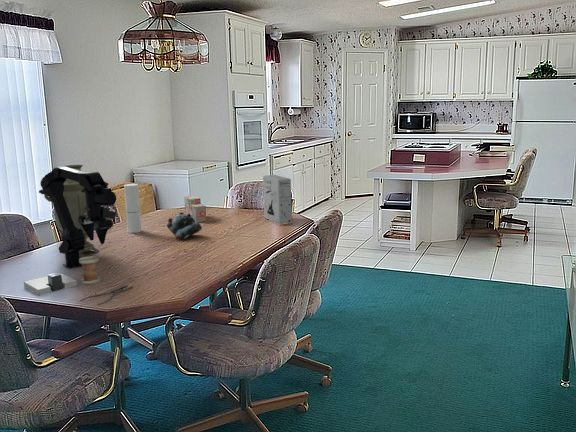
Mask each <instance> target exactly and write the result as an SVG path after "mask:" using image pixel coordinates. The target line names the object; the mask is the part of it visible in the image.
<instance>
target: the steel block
mask: <svg viewBox="0 0 576 432" xmlns="http://www.w3.org/2000/svg"><path fill="white" fill-rule="evenodd" d="M61 274H62V273H61ZM61 274H60V273H59V272H54V273H48V274H47V276H48V284H49V286H50V287H51V292H57V291H60V290H63V289H64V288H63V285H62V276H61Z"/></svg>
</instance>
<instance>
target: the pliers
mask: <svg viewBox="0 0 576 432" xmlns="http://www.w3.org/2000/svg"><path fill="white" fill-rule="evenodd" d="M128 285H129V284H126V285H123V286H121V287H118V288H114V289H113V290H111V291H108V292H103V293H99V294H98V293H97V294H93V295H90V296H87V297H85V298H82V299H81V300H80V302H83V301H85V300H87V299H92V298H95V297H101V296H107V295H111V294H112V295H111V296H110V298H108V299H106V300H104V301H102V302H99V303H97V306H100V305H103V304H106V303H108V302H110V301H111V300H113V298H115V296H116V295H119V294H120V293H124V292H127V291H129V290H131V289H133V288H134V286H133V285H131V286H128Z"/></svg>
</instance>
